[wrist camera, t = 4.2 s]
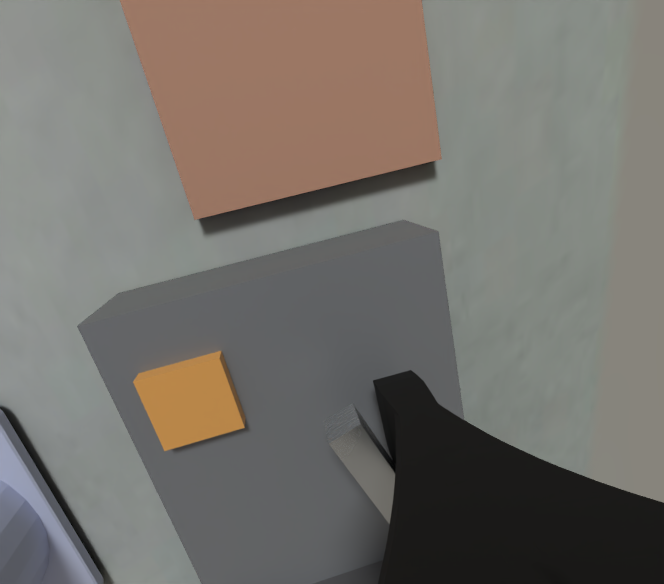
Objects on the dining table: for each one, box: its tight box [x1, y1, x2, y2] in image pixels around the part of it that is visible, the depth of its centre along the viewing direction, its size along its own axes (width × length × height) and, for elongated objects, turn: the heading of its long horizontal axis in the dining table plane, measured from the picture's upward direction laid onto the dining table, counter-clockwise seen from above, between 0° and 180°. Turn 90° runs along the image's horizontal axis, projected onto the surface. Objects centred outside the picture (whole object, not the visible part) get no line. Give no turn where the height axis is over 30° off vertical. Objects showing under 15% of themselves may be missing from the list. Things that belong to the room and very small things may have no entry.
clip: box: [324, 403, 396, 524], centre depth 11 cm, size 1×14×2 cm, turn 30°
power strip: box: [77, 220, 464, 584], centre depth 13 cm, size 9×20×3 cm, turn 13°
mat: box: [120, 0, 442, 220], centre depth 10 cm, size 7×7×1 cm
